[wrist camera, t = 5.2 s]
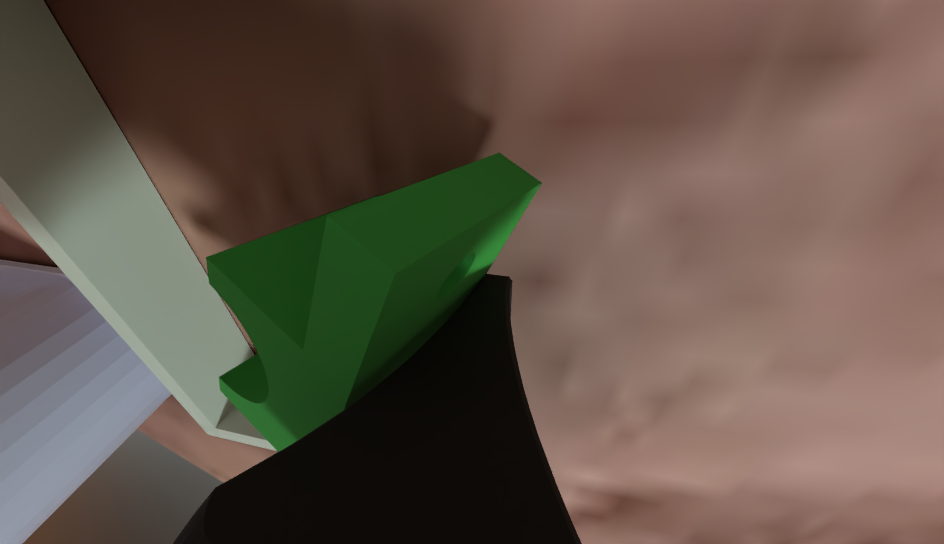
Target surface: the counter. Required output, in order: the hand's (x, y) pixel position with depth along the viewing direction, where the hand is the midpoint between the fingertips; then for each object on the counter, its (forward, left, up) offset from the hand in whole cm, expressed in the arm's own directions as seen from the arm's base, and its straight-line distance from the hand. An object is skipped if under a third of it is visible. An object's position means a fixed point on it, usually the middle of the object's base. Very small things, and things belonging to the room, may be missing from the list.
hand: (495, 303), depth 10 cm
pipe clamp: (-3, -1, -1) cm, 3 cm away
